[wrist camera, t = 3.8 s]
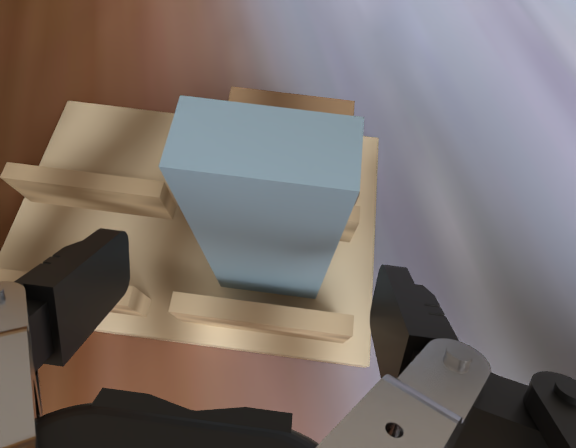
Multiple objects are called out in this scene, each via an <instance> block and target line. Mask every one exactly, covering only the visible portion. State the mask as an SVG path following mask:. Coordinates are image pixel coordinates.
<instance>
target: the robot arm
mask: <svg viewBox="0 0 576 448" xmlns="http://www.w3.org/2000/svg"><path fill="white" fill-rule="evenodd" d="M129 282H130V260H129V239H128V235H127V233H126V232H125V231H119V230H112V229H104V228H100V229H98V230H96V231H95V232H94V233H92V234H91V235H89V236H88V237H87V238H85V239H84V240H83V241H79V242H76V243H73V244H71V245H68V246H65V247H63V248H62V249H60V250H59V251H58V252H56V253H55V254H53V256H52V257H49V258H47V259H46V260H45V261H43V264H42V263H40V264H39V265H37V266H36V267H34V268H33V269H32V270H30V271H29V272H27V273H26V274H24V275H23V276H22V277H20V278H19V279H17V280H16V281H14V282H9V281H0V448H576V380H574V379H572V378H570V377H567V376H565V375H562V374H558V373H554V372H547V371H546V372H538V373H536V374H534V375H533V377H532V379H531V381H530V383H529V386H527V385H524V384H521V383H518V382H515V381H512V380H509V379H507V378H504V377H501V376H498V375H496V374H493V373H491V368H490V365H489V363H488V361H487V360H486V358H485V357H484V356H483V355H482V354H481V353H479V352H478V351H477V350H475V349H474V348H472V347H471V346H469V345H467V344H465V343H462V342H459V340H458V338H457V337H456V335H455V333H454V331H453V329H452V327H451V326H450V324H449V322H448V320H447V318H446V317H445V316H444V313H443V311H442V309H441V308H440V305H439V303H438V301H437V300H436V298H435V296H434V295H433V294H432V293H431V292H430V291H429V290H427V289H426V288H425V287H424V286H423V285H417V284H414V282H413V280H412V278H411V275H410V273H409V271H408V269H407V268H406V267H398V266H390V265H381V267H380V269H379V273H378V278H377V282H376V287H375V291H374V296H373V300H372V305H371V310H370V329H371V334H372V339H373V343H374V348H375V352H376V357H377V361H378V366H379V371H380V375H381V380H380V381H379V382H378V383H377V384H376V385H375V386H374V387H373V388H372V389H371V390H370V391H369V392H368V393H367V394H366V395H365V396H364V397H363V398H362V400H361V401H360V402H359V403H358V404H357V405H356V406H355V407H354V408H353V409H352V410H351V411H350V412H349V413H348V414H347V415H346V416H345V417H344V418H343V419H342V421H341V422H340V423H339V424H338V425H337V426H336V427H335V428H334V429H333V430H332V431H331V432H330V433H329V434H328V435H327V436H326V437H325V438H324V439H323V440H322V442H321V443H320V444H318V443H317V442H315V441H314V440H312V439H311V438H309V437H307V436H305V435H303V434H301V433H299V432H297V431H294V430H292V429H291V427H292V413H285V412H278V411H270V410H263V409H256V408H248V407H240V408H227V409H214V410H201V411H194V410H189V409H186V408H184V407H181V406H179V405H176V404H173V403H171V402H168V401H166V400H163V399H160V398H158V397H155V396H153V395H150V394H145V393H137V392H130V391H123V390H115V389H108V388H102V389H101V391H100V392H99V394H98V395H97V397H96V398H95V400H94V401H93V403H87V404H81V405H75V406H71V407H67V408H63V409H60V410H57V411H54V412H51V413H48V414H46V415H44V416H43V408H42V399H41V389H40V380H39V373H38V369H39V368H40V367H41V366H42V365H43V364H49V365H57V366H64V365H65V364H66V363H67V361H68V360H69V359H70V358H71V357H72V356H73V354H74V353H75V352H76V351H77V350H78V349H79V347H80V346H81V345H82V344H83V343H84V342H85V340H86V339H87V338H88V337H89V336H90V335H91V333H92V332H93V331H94V330H95V329H96V328H97V326H98V325H99V324H100V323H101V322H102V321H103V319H104V318H105V317H106V316H107V315H108V314H109V312H110V311H111V310H112V309H113V308H114V307H115V305H116V304H117V303H118V302H119V301H120V300H121V298H122V297H123V296H124V295H125V293H126V291H127V289H128V286H129Z"/></svg>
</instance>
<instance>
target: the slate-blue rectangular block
mask: <svg viewBox="0 0 576 448" xmlns="http://www.w3.org/2000/svg"><path fill="white" fill-rule="evenodd" d="M363 129H364V117H358V116H350V115H341V114H333V113H325V112H316V111H308V110H300V109H291V108H283V107H274V106H266V105H258V104H249V103H241V102H232V101H224V100H216V99H207V98H199V97H191V96H182V95H180V97H179V101H178V104H177V107H176V111H175V114H174V117H173V121H172V124H171V127H170V130H169V134H168V137H167V140H166V144H165V147H164V150H163V154H162V157H161V160H160V163H159V168H160V170H161V172H162V174H163V176H164V178H165V180H166V182H167V184H168V186H169V188H170V190H171V192H172V193H173V195H174V197H175V199H176V201H177V203H178V205H179V207H180V209H181V211H182V213H183V215H184V217H185V219H186V220H187V222H188V224H189V226H190V228H191V230H192V232H193V234H194V236H195V238H196V240H197V242H198V244H199V245H200V247H201V249H202V251H203V253H204V255H205V257H206V259H207V261H208V263H209V265H210V267H211V269H212V271H213V272H214V274H215V276H216V278H217V280H218V282H219V284H220V286H221V287H227V288H235V289H243V290H250V291H258V292H266V293H273V294H281V295H288V296H296V297H304V298H311V299H316V296H317V294H318V292H319V289H320V287H321V284H322V282H323V279H324V277H325V275H326V272H327V270H328V267H329V265H330V262H331V260H332V258H333V255H334V253H335V250H336V248H337V245H338V243H339V241H340V238H341V236H342V233H343V231H344V229H345V226H346V224H347V221H348V219H349V216H350V214H351V212H352V209H353V207H354V204H355V202H356V199H357V197H358V195H359V192H360V179H361V162H362V145H363Z"/></svg>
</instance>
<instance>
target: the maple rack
mask: <svg viewBox="0 0 576 448" xmlns="http://www.w3.org/2000/svg"><path fill="white" fill-rule="evenodd" d="M174 114H175V113H167V112H158V111H150V110H142V109H133V108H125V107H117V106H109V105H100V104H92V103H84V102H75V101H68V102H67V104H66V106H65V108H64V111H63V113H62V115H61V117H60V120H59V122H58V124H57V126H56V128H55V131H54V133H53V135H52V137H51V140H50V142H49V144H48V146H47V149H46V151H45V153H44V155H43V157H42V160H41V162H40V164H39V166H35V165H27V164H19V163H11V162H7V163H6V165H5V167H4V169H3V172H2V174H1V176H0V178H1V179H2V180H4V181H5V182H6V183H8V184H9V185H10V186H11V187H13V188H14V189H15V190H17V191H18V192H19V193H20V194H22V195H23V196H24V197H25V198H24V200H23V202H22V204H21V207H20V209H19V211H18V213H17V216H16V218H15V220H14V222H13V224H12V227H11V229H10V231H9V233H8V236H7V238H6V240H5V242H4V245H3V247H2V249H1V251H0V281H9V282H14V281H16V280H17V279H19V278H20V277H22V276H23V275H24V274H26V273H27V272H29V271H30V270H32V269H33V268H34V267H36V266H37V265H39V264H40V263H42V264H43V261H45V260H46V259H47V258H49V257H52V256H53V254H55V253H56V252H58V251H59V250H60V249H62V248H63V247H65V246H68V245H71V244H73V243H76V242H79V241H83V240H84V239H85V238H87V237H88V236H89V235H91V234H92V233H94V232H95V231H96V230H98V229H100V228H104V229H112V230H119V231H125V232H126V233H127V235H128V239H129V260H130V282H129V286H128V289H127V291H126V293H125V295H124V296H123V297H122V298H121V300H120V301H119V302H118V303H117V304H116V305H115V307H114V308H113V309H112V310H111V311H110V312H109V314H108V315H107V316H106V317H105V318H104V319H103V321H102V322H101V323H100V324H99V325H98V326H97V328H96V329H95V330H94V331H98V332H105V333H112V334H120V335H127V336H135V337H142V338H149V339H157V340H164V341H172V342H179V343H186V344H194V345H201V346H208V347H216V348H223V349H231V350H238V351H245V352H253V353H260V354H268V355H275V356H282V357H290V358H297V359H304V360H312V361H319V362H327V363H334V364H341V365H349V366H356V367H363V368H365V367H369V365H370V340H371V329H370V310H371V305H372V289H373V264H374V239H375V214H376V189H377V164H378V139H379V138H374V137H366V136H363V145H362V162H361V179H360V194H359V197H358V199H357V202H356V204H355V205H354V207H353V209H352V212H351V214H350V216H349V219H348V221H347V224H346V226H345V229H344V231H343V233H342V236H341V238H340V241H339V243H338V245H337V248H336V250H335V253H334V255H333V258H332V260H331V262H330V265H329V267H328V270H327V272H326V275H325V277H324V279H323V282H322V284H321V287H320V289H319V292H318V294H317V296H316V299H311V298H304V297H296V296H288V295H281V294H273V293H266V292H258V291H250V290H243V289H235V288H227V287H221V286H220V284H219V282H218V280H217V278H216V276H215V274H214V272H213V271H212V269H211V267H210V265H209V263H208V261H207V259H206V257H205V255H204V253H203V251H202V249H201V247H200V245H199V244H198V242H197V240H196V238H195V236H194V234H193V232H192V230H191V228H190V226H189V224H188V222H187V220H186V219H185V217H184V215H183V213H182V211H181V209H180V207H179V205H178V203H177V201H176V199H175V197H174V195H173V193H172V192H171V190H170V188H169V186H168V184H167V182H166V180H165V178H164V176H163V174H162V172H161V170H160V168H159V163H160V160H161V157H162V154H163V150H164V147H165V144H166V140H167V137H168V134H169V130H170V127H171V124H172V121H173V117H174Z"/></svg>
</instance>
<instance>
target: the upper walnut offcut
mask: <svg viewBox="0 0 576 448" xmlns="http://www.w3.org/2000/svg"><path fill="white" fill-rule="evenodd" d="M228 101H232V102H241V103H249V104H258V105H266V106H274V107H283V108H291V109H300V110H308V111H316V112H325V113H333V114H341V115H350V116H354V103H355V101H350V100H341V99H333V98H324V97H316V96H307V95H299V94H291V93H282V92H274V91H265V90H257V89H248V88H240V87H231V90H230V94H229V99H228Z"/></svg>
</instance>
